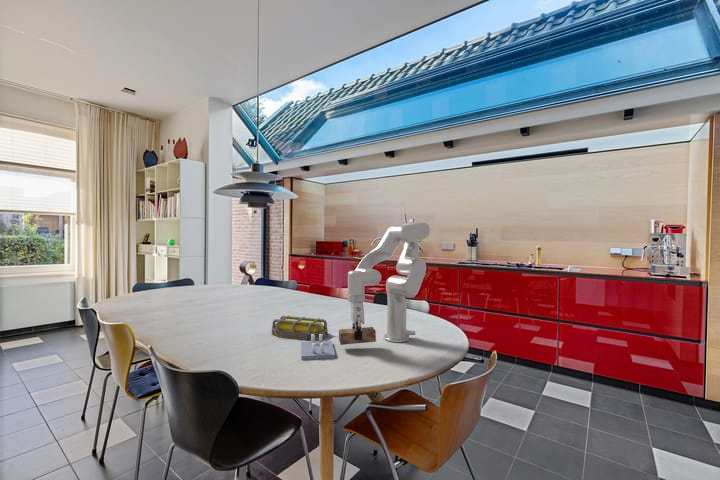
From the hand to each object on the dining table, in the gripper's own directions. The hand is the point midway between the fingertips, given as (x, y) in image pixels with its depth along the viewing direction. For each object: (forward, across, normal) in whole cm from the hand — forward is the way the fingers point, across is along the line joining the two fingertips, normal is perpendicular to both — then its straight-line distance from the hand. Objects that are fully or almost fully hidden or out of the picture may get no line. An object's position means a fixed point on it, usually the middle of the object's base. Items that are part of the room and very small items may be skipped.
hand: (357, 336), depth 149 cm
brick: (+2, 0, 0) cm, 2 cm away
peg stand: (+5, -1, +18) cm, 19 cm away
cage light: (+6, +25, +26) cm, 37 cm away
